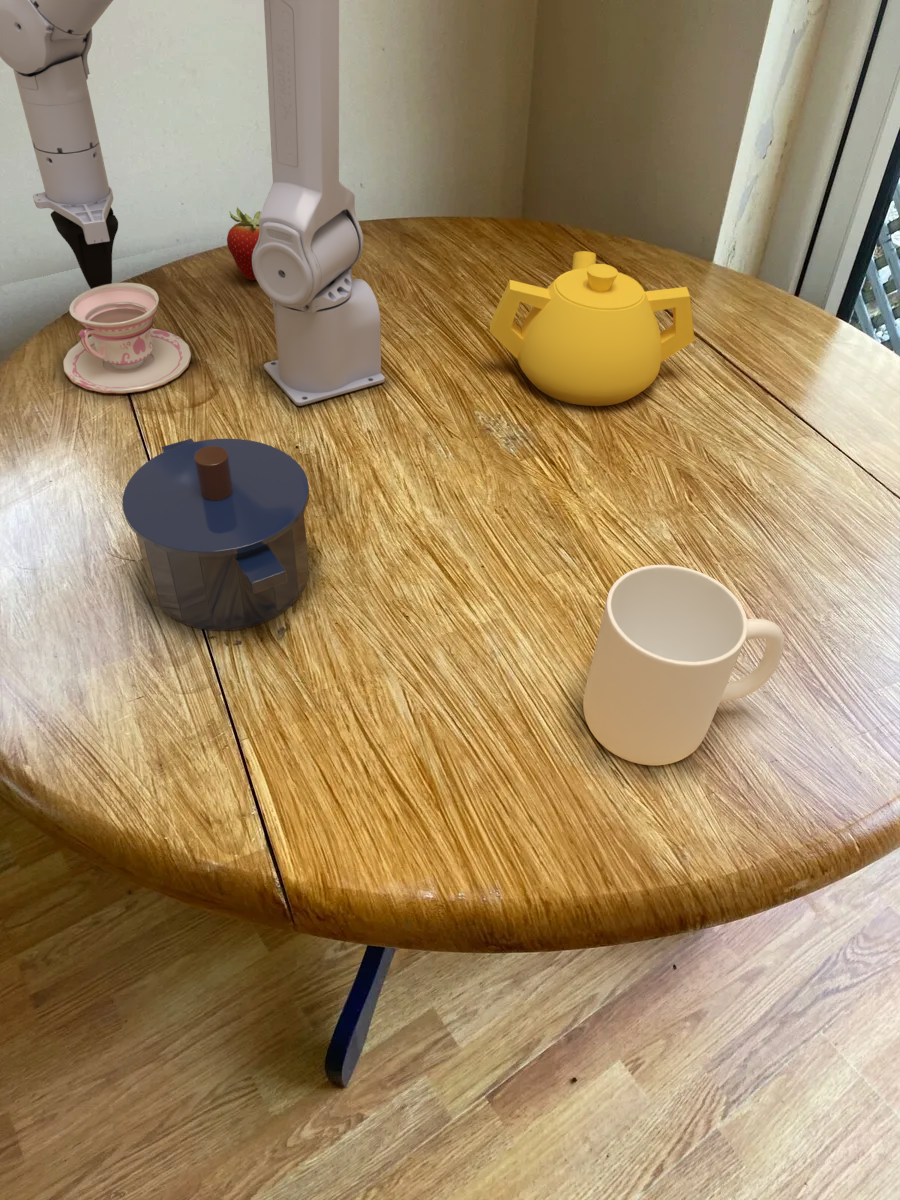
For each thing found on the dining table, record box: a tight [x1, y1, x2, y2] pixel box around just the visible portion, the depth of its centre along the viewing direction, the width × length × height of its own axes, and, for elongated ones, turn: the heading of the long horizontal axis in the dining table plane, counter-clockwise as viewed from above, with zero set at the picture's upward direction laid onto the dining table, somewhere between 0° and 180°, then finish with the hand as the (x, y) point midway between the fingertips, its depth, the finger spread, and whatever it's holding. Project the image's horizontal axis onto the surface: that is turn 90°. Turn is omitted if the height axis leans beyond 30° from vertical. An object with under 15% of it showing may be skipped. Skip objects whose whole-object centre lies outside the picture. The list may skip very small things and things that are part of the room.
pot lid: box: [121, 438, 310, 557], centre depth 62 cm, size 13×13×4 cm
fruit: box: [226, 207, 261, 281], centre depth 100 cm, size 5×5×8 cm
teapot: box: [489, 250, 696, 407], centre depth 89 cm, size 20×18×11 cm
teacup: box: [62, 282, 192, 394], centre depth 87 cm, size 12×12×6 cm
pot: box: [135, 438, 310, 632], centre depth 66 cm, size 12×17×8 cm
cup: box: [582, 564, 785, 766], centre depth 57 cm, size 8×12×10 cm
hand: (100, 285), depth 92 cm, fingers closed
